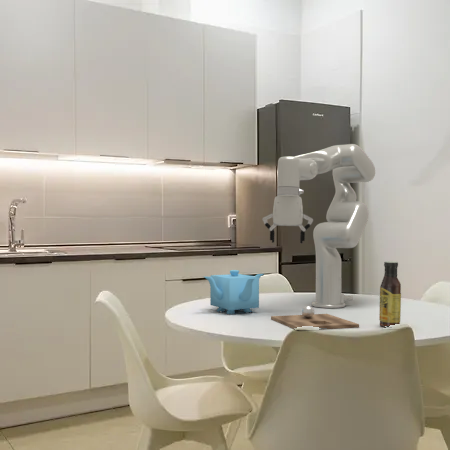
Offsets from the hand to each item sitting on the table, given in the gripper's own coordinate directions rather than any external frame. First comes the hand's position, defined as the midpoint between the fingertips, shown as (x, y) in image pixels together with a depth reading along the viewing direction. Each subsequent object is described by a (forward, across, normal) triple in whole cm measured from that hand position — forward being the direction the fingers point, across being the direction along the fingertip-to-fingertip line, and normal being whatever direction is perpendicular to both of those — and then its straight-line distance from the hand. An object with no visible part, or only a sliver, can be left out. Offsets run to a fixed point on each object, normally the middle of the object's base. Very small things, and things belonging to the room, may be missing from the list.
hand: (287, 242), depth 212 cm
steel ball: (+22, -7, +12) cm, 26 cm away
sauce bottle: (+25, -32, +18) cm, 45 cm away
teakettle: (+25, +18, -6) cm, 31 cm away
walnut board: (+25, -9, +15) cm, 31 cm away
